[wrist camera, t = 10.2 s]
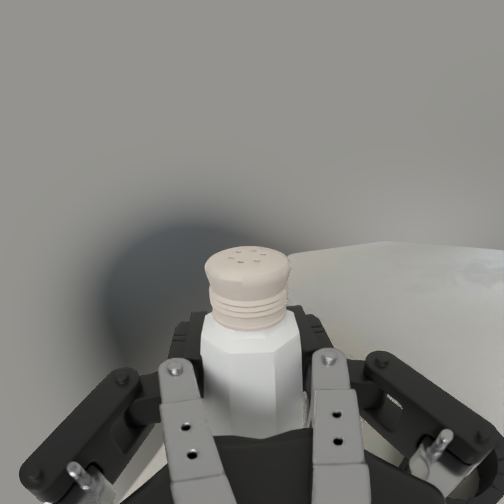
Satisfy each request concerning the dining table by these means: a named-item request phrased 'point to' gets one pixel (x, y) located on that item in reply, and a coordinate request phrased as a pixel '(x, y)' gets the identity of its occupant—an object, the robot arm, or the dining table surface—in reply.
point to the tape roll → (483, 477)
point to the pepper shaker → (251, 346)
